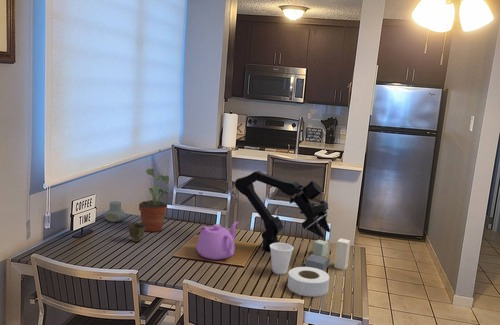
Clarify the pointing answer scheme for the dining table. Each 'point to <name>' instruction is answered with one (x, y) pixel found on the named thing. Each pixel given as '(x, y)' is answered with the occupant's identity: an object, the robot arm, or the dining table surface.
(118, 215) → the air freshener
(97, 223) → the dining table surface
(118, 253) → the dining table surface
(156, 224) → the potted plant
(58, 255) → the dining table surface
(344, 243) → the cream block
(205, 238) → the teapot
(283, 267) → the cup
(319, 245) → the sage block
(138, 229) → the cup
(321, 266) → the base block
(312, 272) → the roll of tape
